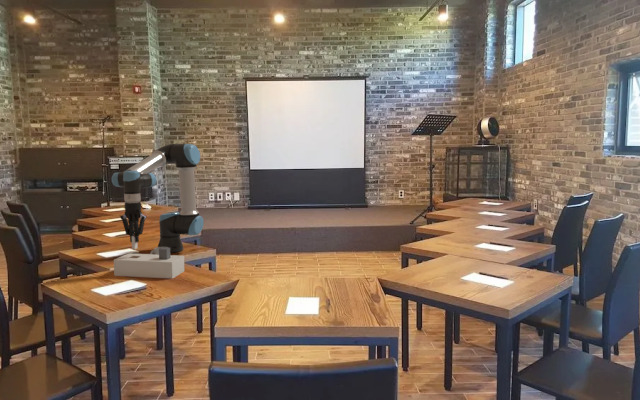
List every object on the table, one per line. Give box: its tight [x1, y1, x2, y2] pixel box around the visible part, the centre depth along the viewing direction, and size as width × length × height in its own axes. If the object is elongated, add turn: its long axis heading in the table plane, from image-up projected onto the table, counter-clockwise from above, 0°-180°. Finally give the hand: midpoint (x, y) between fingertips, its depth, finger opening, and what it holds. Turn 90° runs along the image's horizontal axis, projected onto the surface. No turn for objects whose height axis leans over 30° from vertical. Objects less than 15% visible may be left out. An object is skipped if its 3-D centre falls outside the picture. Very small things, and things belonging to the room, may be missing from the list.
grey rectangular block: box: [113, 253, 185, 279], centre depth 237 cm, size 14×30×8 cm, turn 82°
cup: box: [149, 246, 168, 255], centre depth 256 cm, size 7×10×9 cm
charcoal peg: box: [159, 248, 171, 260], centre depth 236 cm, size 4×4×7 cm
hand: (134, 248), depth 238 cm, fingers closed
